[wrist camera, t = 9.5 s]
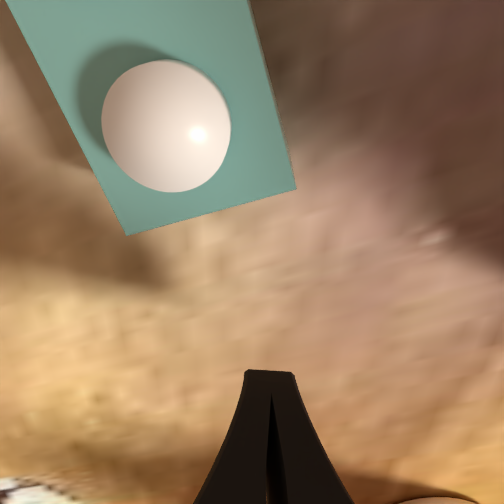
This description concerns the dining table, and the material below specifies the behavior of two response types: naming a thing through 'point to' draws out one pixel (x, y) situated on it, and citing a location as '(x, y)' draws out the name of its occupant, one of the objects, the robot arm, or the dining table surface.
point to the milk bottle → (437, 501)
